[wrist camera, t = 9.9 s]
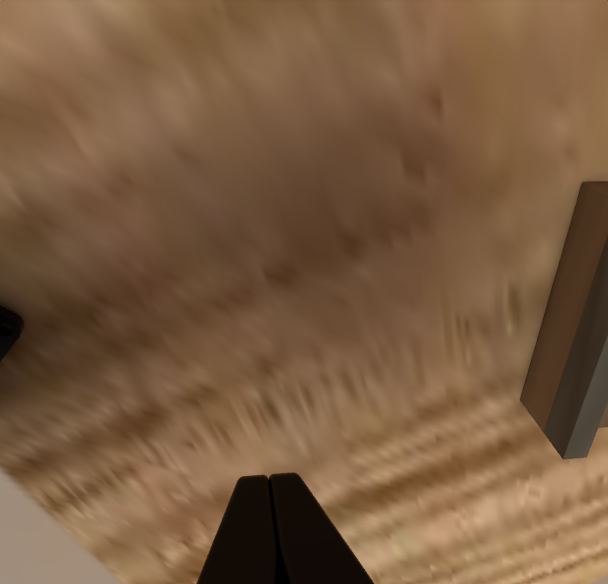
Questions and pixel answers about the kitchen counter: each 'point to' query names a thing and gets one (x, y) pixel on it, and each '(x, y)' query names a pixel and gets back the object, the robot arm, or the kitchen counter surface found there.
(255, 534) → the robot arm
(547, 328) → the panel
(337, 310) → the kitchen counter surface
